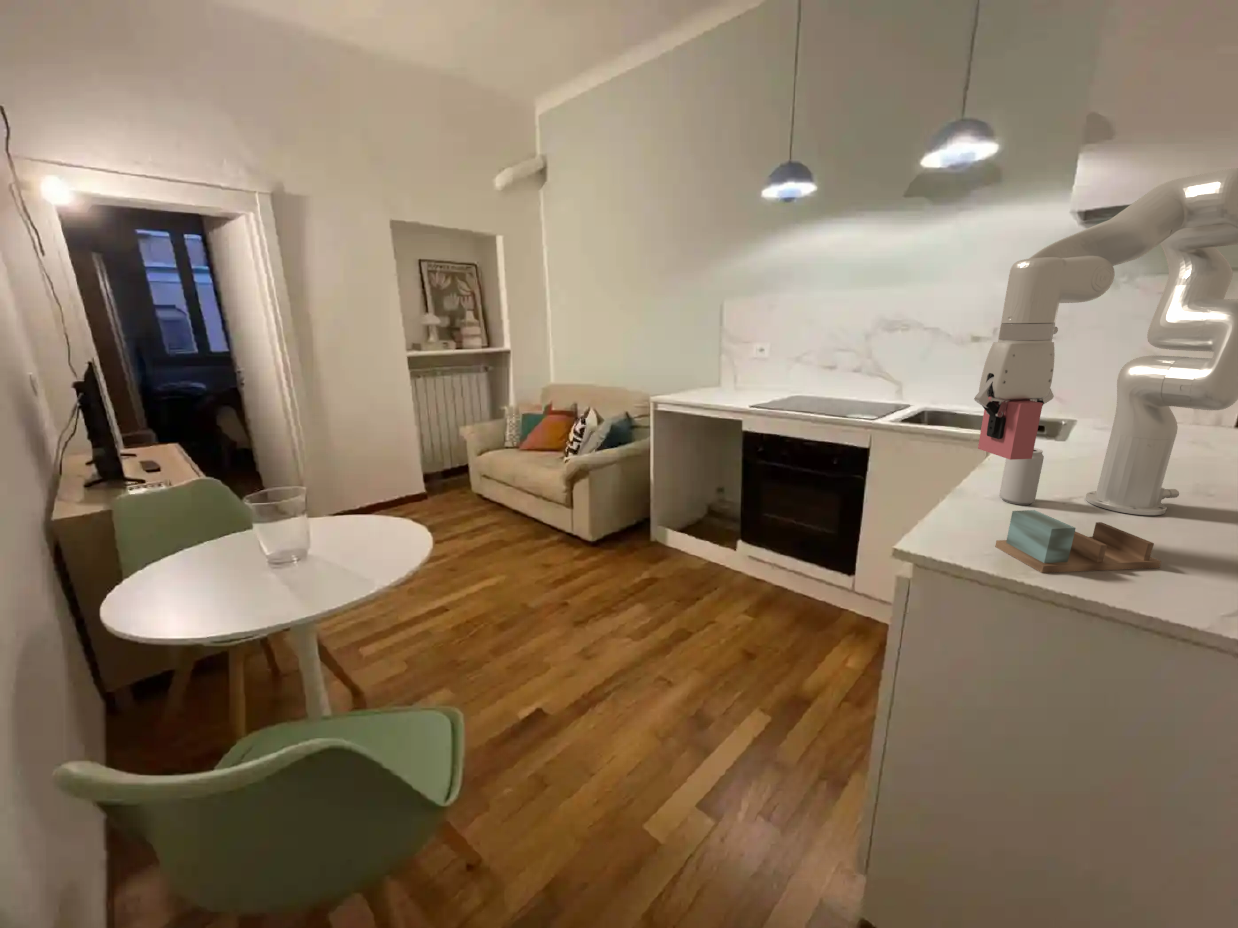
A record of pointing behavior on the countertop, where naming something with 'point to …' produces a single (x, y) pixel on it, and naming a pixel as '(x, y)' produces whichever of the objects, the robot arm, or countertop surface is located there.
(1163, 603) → the countertop surface
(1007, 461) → the beverage can
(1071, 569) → the rack
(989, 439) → the dusty red block
